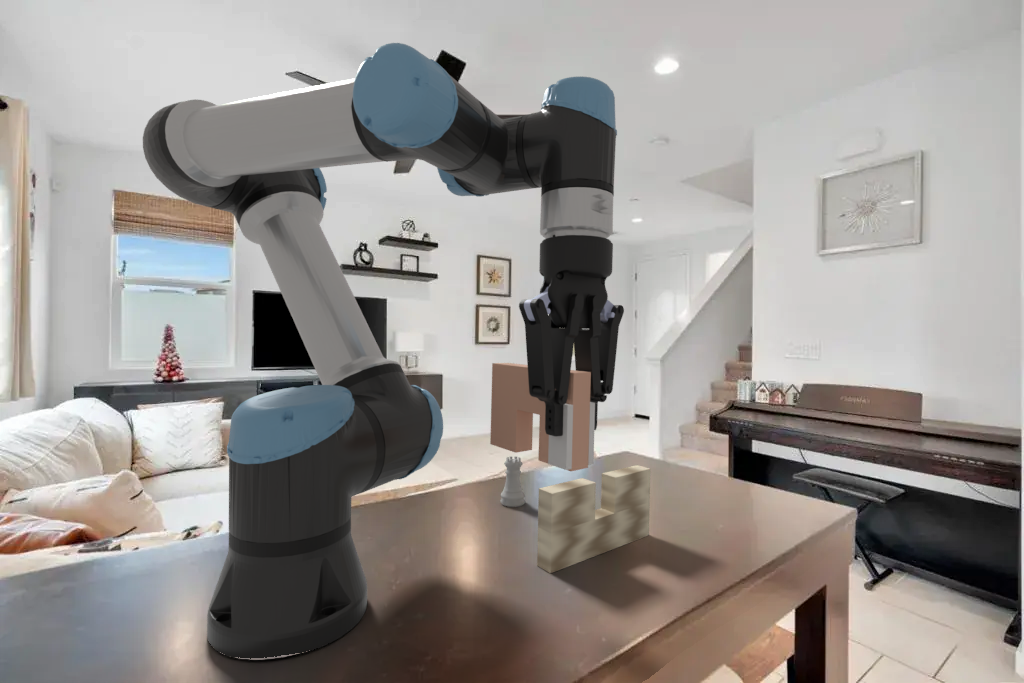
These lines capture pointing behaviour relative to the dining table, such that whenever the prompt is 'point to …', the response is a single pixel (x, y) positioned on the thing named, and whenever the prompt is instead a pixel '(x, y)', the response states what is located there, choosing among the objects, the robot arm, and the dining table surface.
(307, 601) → the robot arm
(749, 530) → the dining table surface
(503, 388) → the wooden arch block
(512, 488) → the rook chess piece
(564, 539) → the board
